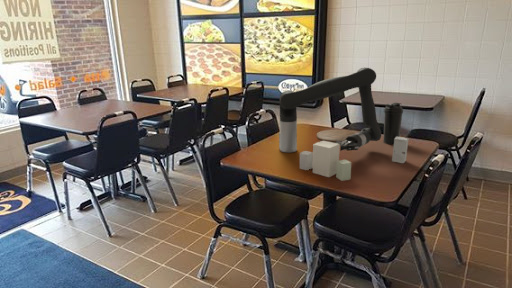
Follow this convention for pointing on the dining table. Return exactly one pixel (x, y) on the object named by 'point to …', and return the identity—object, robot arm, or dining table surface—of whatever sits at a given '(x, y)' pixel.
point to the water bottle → (392, 122)
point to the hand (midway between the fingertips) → (337, 149)
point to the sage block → (343, 170)
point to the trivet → (333, 135)
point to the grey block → (306, 160)
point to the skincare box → (400, 149)
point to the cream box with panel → (325, 158)
